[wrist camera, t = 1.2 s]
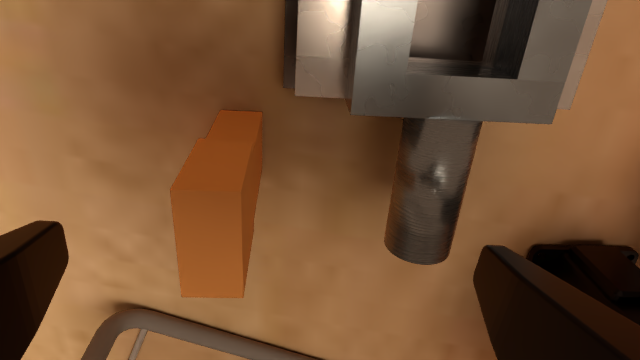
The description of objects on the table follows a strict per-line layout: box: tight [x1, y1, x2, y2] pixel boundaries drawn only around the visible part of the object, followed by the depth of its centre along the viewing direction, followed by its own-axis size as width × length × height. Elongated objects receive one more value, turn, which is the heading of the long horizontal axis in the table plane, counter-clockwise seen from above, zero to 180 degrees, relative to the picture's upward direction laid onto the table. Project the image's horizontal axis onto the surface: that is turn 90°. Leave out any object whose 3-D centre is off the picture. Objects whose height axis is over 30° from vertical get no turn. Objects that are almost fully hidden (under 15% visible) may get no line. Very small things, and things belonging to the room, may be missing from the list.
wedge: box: [170, 110, 262, 298], centre depth 17 cm, size 4×2×9 cm, turn 176°
